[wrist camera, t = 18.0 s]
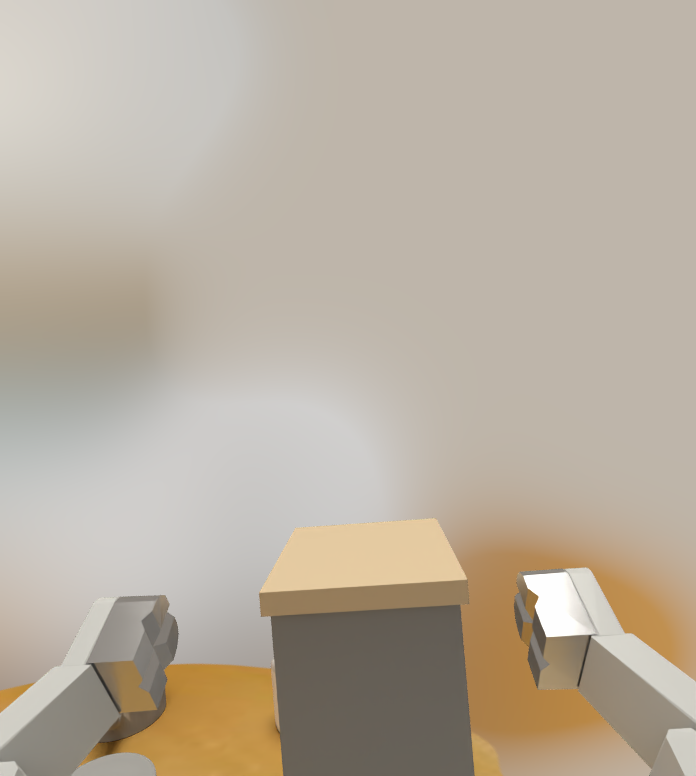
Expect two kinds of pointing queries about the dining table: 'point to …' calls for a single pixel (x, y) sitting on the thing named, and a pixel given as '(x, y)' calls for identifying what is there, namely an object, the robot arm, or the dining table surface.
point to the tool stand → (370, 651)
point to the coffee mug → (133, 722)
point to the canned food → (117, 766)
